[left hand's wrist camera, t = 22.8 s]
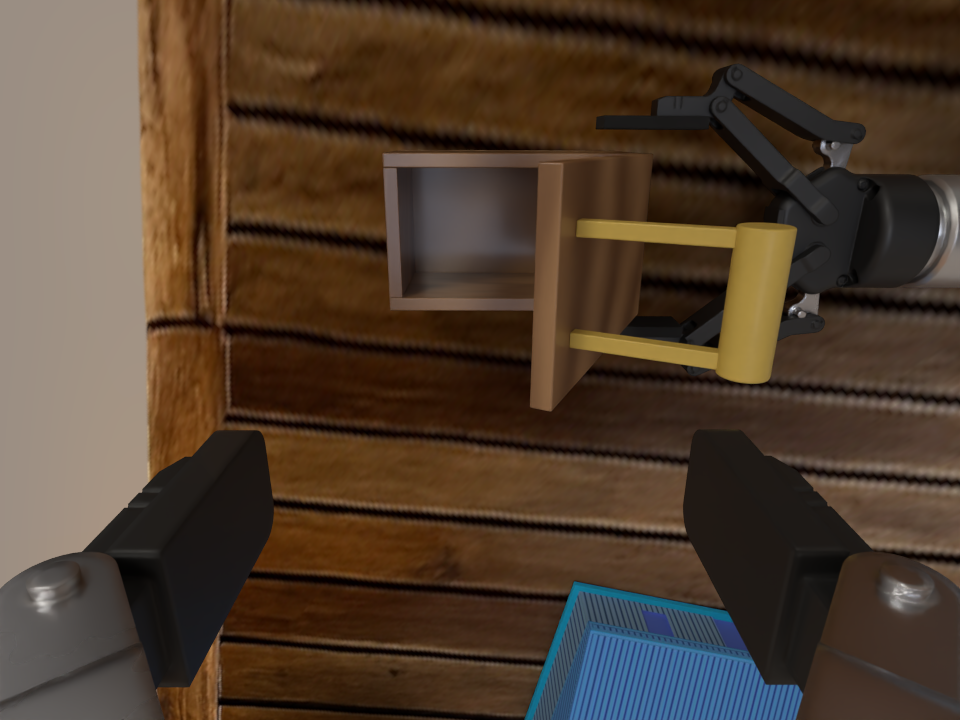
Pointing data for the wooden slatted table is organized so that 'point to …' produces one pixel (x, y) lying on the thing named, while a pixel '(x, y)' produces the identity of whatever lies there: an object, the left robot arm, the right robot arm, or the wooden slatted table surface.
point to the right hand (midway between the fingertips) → (591, 230)
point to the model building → (651, 664)
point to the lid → (638, 277)
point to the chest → (464, 227)
